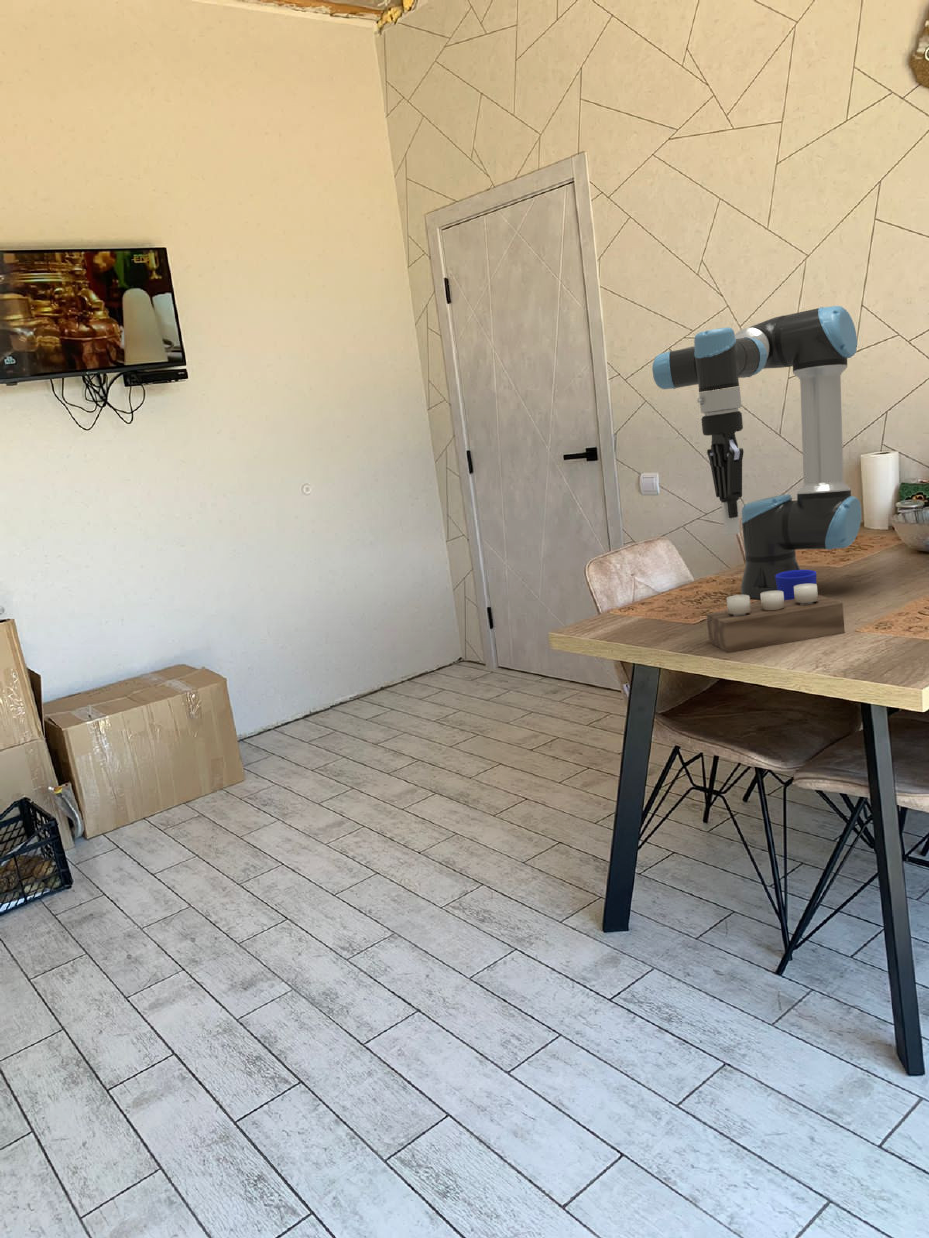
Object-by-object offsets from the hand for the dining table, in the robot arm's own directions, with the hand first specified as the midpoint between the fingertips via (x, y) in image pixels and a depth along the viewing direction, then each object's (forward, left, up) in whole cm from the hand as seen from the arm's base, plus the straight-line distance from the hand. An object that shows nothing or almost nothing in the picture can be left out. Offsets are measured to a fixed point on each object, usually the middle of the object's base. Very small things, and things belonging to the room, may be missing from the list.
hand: (732, 533), depth 184 cm
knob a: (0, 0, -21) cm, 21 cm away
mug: (-13, +18, -23) cm, 31 cm away
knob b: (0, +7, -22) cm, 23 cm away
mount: (0, +7, -22) cm, 23 cm away
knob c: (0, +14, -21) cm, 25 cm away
